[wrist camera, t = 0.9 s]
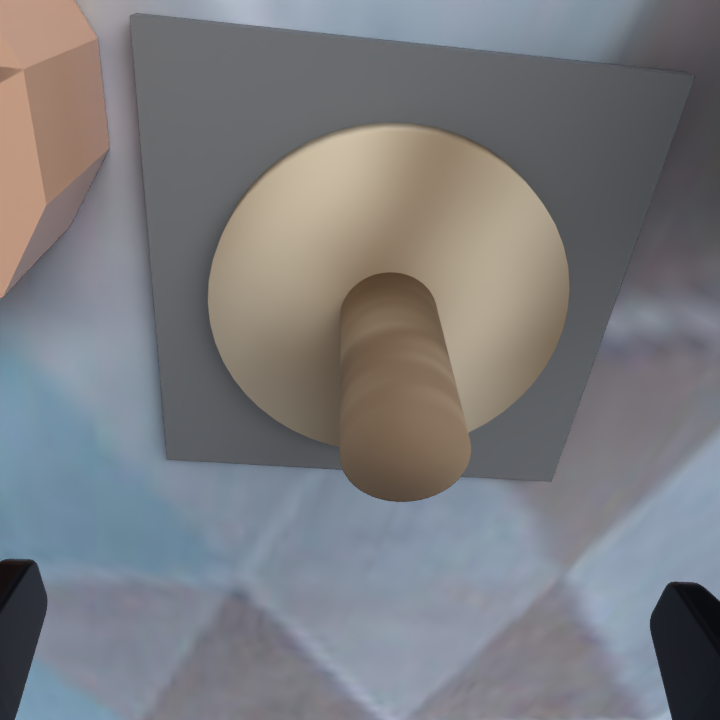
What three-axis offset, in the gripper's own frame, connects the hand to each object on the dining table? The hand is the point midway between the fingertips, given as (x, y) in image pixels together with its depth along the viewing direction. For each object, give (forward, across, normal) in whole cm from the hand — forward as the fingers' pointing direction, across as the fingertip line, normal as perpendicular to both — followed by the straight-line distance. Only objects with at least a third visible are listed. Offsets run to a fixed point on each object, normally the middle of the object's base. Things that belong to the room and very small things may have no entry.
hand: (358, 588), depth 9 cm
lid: (+11, -1, +1) cm, 12 cm away
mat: (+12, -1, +1) cm, 12 cm away
